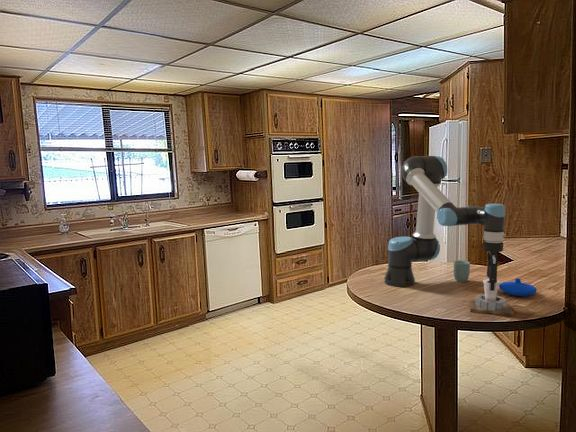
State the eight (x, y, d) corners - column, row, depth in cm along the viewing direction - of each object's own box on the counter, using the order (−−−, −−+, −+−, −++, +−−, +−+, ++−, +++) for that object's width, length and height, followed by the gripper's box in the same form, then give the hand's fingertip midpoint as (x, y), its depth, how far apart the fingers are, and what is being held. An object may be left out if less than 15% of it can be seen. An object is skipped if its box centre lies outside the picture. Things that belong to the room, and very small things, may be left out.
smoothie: (479, 300, 187) (480, 269, 185) (493, 300, 187) (495, 268, 186) (487, 305, 181) (488, 272, 179) (501, 305, 181) (503, 272, 179)
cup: (470, 283, 222) (471, 264, 221) (454, 282, 224) (455, 263, 223) (467, 279, 230) (468, 260, 229) (452, 278, 231) (452, 260, 230)
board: (470, 311, 181) (470, 308, 181) (468, 302, 193) (469, 300, 192) (513, 315, 176) (513, 313, 176) (509, 306, 187) (509, 303, 187)
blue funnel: (515, 287, 215) (516, 273, 214) (544, 296, 200) (545, 281, 199) (491, 291, 210) (491, 276, 209) (518, 300, 195) (519, 285, 194)
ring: (476, 309, 181) (476, 301, 180) (474, 300, 191) (474, 293, 191) (507, 312, 177) (507, 303, 176) (503, 303, 188) (504, 295, 187)
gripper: (506, 246, 170) (503, 303, 173) (500, 237, 188) (497, 289, 191) (485, 245, 173) (482, 301, 176) (481, 236, 191) (479, 287, 194)
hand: (490, 295), depth 184 cm, fingers closed on smoothie, 6 cm apart
